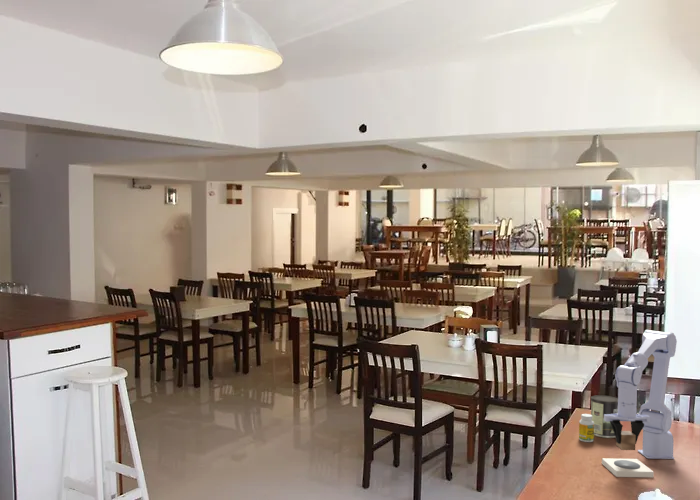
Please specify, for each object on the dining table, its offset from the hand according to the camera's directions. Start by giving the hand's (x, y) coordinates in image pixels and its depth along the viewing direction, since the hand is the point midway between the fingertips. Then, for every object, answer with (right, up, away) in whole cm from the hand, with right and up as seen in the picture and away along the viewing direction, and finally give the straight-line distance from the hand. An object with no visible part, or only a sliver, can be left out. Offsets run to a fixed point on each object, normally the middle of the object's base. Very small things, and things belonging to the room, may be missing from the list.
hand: (626, 442), depth 216 cm
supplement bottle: (-2, -8, +31) cm, 32 cm away
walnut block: (0, -2, 0) cm, 2 cm away
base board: (0, -9, 0) cm, 9 cm away
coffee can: (+8, -8, +39) cm, 40 cm away
